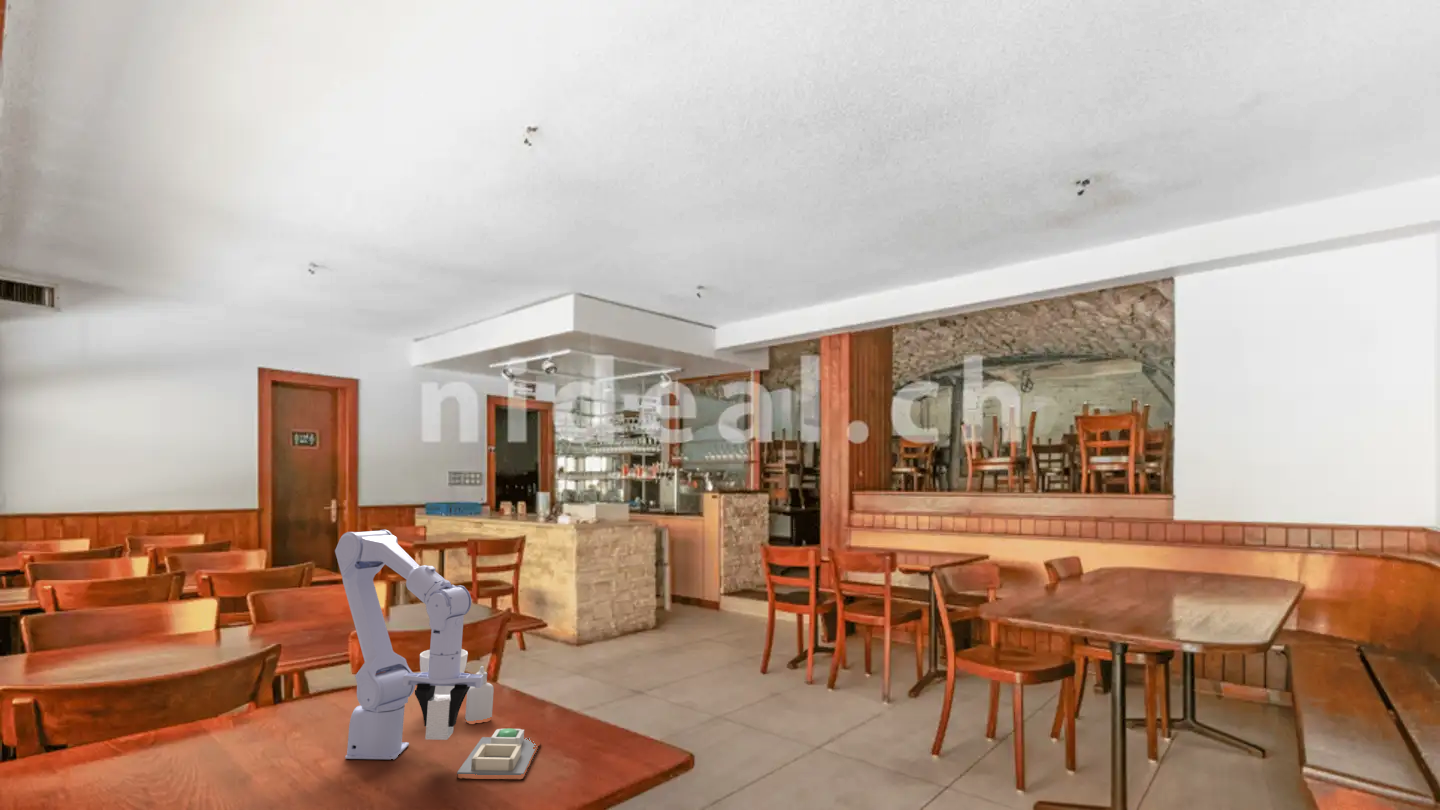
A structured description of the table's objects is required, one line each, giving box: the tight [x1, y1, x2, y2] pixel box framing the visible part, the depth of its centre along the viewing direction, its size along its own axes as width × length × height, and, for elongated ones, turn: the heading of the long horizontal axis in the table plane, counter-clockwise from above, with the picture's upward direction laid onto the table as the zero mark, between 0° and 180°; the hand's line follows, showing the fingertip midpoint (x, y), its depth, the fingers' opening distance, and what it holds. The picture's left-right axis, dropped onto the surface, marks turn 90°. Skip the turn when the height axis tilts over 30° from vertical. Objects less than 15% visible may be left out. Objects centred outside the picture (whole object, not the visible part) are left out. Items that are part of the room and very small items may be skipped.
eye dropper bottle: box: [464, 665, 494, 721], centre depth 168 cm, size 4×6×12 cm
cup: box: [419, 648, 469, 695], centre depth 172 cm, size 10×10×14 cm
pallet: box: [456, 728, 537, 775], centre depth 146 cm, size 12×18×3 cm, turn 3°
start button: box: [500, 727, 516, 737], centre depth 151 cm, size 3×3×2 cm
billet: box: [424, 694, 455, 741], centre depth 142 cm, size 4×4×7 cm
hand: (440, 724), depth 142 cm, fingers closed on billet, 4 cm apart
